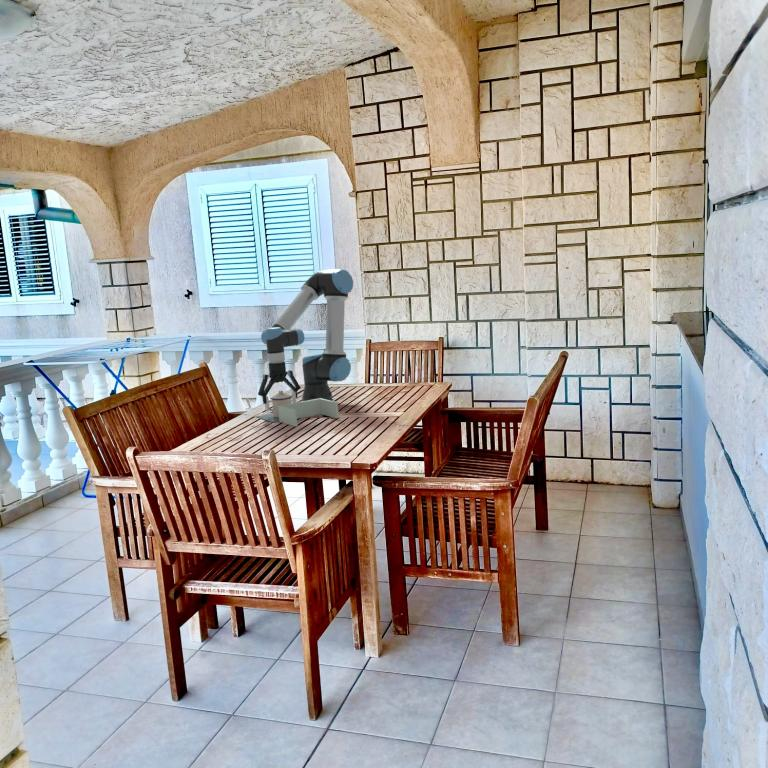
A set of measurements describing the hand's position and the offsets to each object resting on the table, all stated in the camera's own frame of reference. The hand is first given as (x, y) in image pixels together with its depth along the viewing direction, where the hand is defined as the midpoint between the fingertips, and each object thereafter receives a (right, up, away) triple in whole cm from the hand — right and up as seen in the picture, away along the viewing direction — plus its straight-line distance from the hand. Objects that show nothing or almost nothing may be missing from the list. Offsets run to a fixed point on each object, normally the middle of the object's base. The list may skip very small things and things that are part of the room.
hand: (281, 408), depth 336 cm
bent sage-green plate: (+14, -5, -12) cm, 19 cm away
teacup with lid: (0, -4, 0) cm, 4 cm away
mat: (0, -4, +1) cm, 4 cm away
